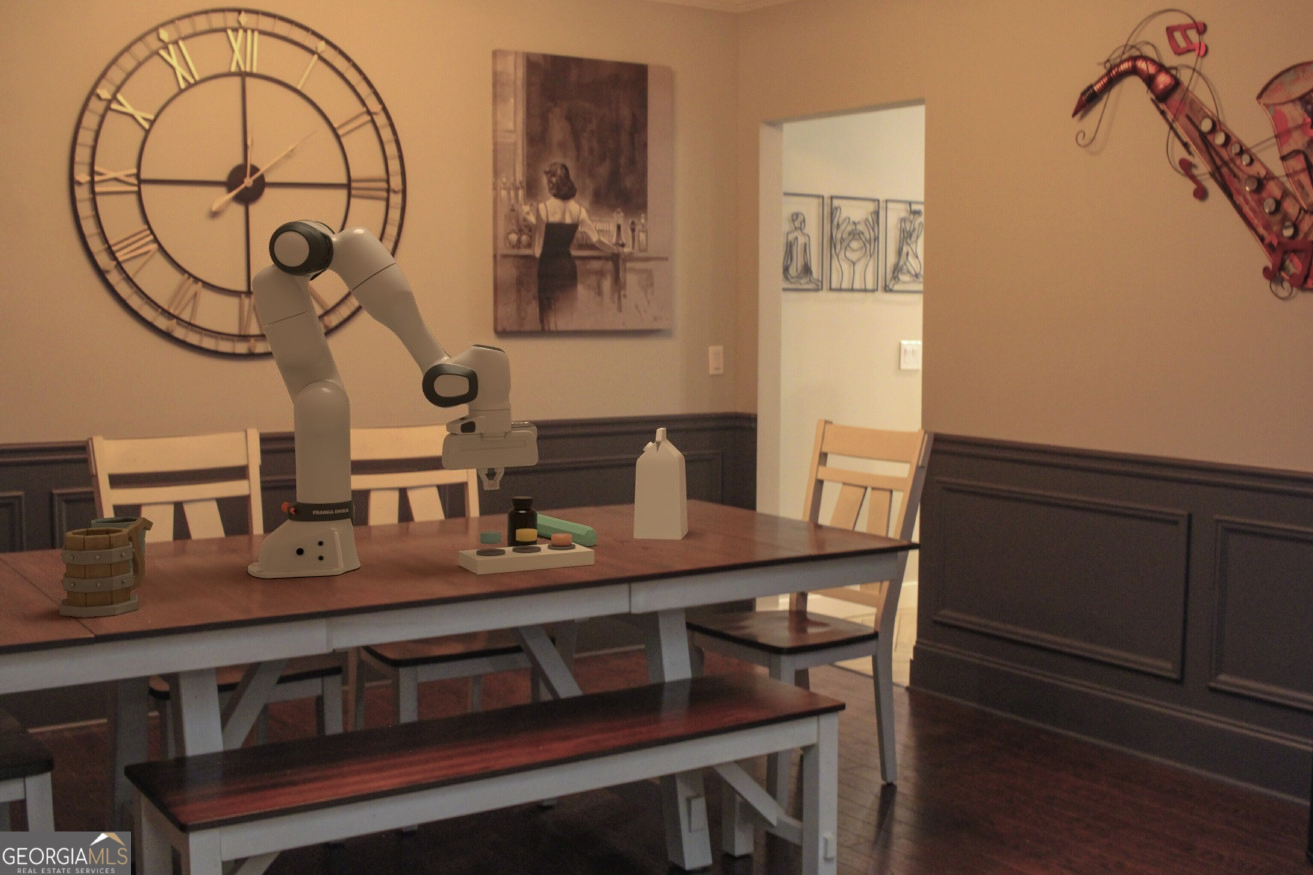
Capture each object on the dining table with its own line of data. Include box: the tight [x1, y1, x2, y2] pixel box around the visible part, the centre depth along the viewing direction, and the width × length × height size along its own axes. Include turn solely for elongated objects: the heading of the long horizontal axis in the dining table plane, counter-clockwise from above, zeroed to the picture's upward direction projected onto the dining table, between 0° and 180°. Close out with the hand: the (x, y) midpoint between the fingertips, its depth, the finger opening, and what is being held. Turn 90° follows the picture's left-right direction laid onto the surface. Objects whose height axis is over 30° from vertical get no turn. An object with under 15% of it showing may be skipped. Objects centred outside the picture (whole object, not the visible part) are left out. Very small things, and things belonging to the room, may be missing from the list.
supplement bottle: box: [506, 495, 538, 547], centre depth 289 cm, size 7×7×12 cm
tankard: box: [59, 516, 154, 619], centre depth 229 cm, size 20×13×15 cm, turn 158°
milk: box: [633, 427, 689, 541], centre depth 310 cm, size 12×12×26 cm
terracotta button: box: [550, 533, 572, 546], centre depth 274 cm, size 4×4×2 cm
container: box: [536, 511, 598, 548], centre depth 304 cm, size 6×6×25 cm
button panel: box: [458, 542, 595, 576], centre depth 271 cm, size 26×12×4 cm, turn 117°
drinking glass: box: [90, 516, 147, 569], centre depth 254 cm, size 10×10×12 cm
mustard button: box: [516, 529, 538, 541], centre depth 271 cm, size 4×4×2 cm
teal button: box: [479, 530, 502, 545], centre depth 267 cm, size 4×4×2 cm
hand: (491, 489), depth 266 cm, fingers closed
